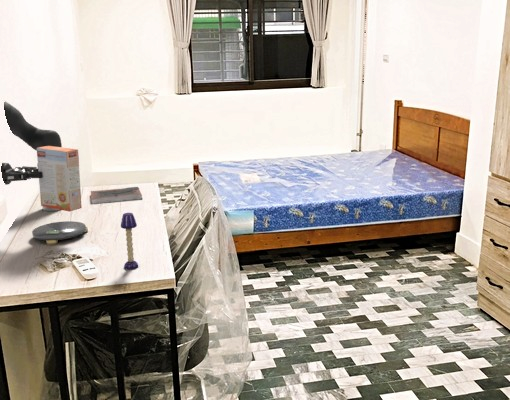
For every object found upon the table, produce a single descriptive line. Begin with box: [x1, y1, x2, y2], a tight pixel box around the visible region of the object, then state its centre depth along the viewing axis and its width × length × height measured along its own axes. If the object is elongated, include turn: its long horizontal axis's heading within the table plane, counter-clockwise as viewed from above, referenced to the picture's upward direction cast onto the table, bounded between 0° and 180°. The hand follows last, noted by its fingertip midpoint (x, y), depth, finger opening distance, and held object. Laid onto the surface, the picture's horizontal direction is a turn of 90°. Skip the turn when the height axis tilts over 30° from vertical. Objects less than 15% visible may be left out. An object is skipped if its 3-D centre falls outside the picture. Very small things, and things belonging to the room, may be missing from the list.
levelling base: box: [31, 220, 89, 246], centre depth 194 cm, size 19×18×4 cm
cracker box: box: [36, 146, 82, 212], centre depth 187 cm, size 14×6×21 cm, turn 62°
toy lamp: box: [120, 212, 139, 270], centre depth 163 cm, size 5×5×17 cm
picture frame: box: [90, 186, 143, 205], centre depth 248 cm, size 16×2×22 cm
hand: (44, 173), depth 189 cm, fingers closed on cracker box, 4 cm apart
